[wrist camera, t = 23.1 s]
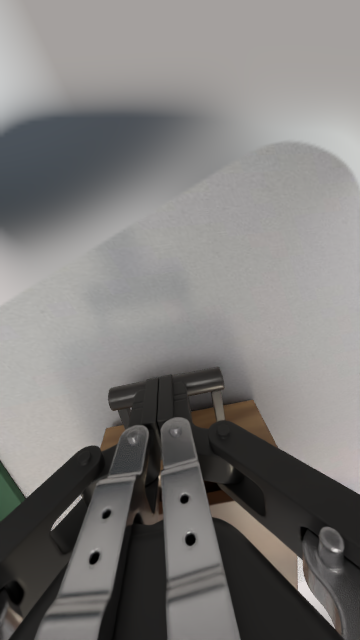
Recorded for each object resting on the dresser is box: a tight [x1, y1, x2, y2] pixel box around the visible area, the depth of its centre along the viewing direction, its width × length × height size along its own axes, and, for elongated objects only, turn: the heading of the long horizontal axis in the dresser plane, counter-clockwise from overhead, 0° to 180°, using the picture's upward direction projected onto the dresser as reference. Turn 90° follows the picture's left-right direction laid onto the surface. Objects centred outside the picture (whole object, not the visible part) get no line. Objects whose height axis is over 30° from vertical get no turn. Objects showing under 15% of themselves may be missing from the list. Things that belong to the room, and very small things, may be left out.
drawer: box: [100, 367, 278, 502], centre depth 19 cm, size 21×12×5 cm, turn 11°
